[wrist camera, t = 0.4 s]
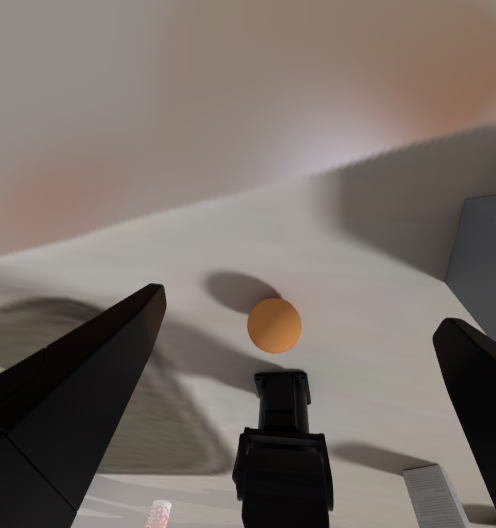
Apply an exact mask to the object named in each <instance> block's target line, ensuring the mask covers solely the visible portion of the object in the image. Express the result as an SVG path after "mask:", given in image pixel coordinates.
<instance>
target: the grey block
mask: <svg viewBox="0 0 496 528" xmlns="http://www.w3.org/2000/svg"><path fill="white" fill-rule="evenodd" d="M445 283H446V285H447V286H448V287H449V288H450V290H451V291H452V292H453V293H454V295H455V296H456V297H457V298H458V300H459V301H460V302H461V303H462V305H463V306H464V307H465V308H466V310H467V311H468V312H469V313H470V315H471V316H472V317H473V318H474V320H475V321H476V322H477V323H478V325H479V326H480V327H481V328H482V330H483V331H484V332H485V333H486V335H487V336H488V337H489V338H491V339H493V340H494V341H496V195H493V196H486V197H479V198H472V199H465V203H464V208H463V212H462V216H461V220H460V224H459V228H458V232H457V236H456V241H455V245H454V249H453V253H452V257H451V261H450V265H449V270H448V274H447V278H446V282H445Z"/></svg>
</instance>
